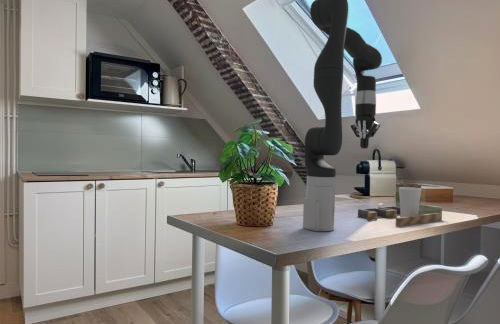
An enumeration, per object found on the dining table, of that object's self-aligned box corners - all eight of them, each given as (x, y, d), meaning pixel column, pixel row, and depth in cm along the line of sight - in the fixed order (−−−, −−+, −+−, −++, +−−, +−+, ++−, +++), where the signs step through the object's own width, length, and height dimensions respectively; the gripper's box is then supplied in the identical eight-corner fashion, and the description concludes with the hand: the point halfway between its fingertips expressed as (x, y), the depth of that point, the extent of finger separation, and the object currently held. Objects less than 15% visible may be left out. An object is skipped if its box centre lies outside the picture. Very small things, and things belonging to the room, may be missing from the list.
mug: (392, 208, 168) (393, 182, 168) (416, 209, 167) (417, 183, 166) (400, 213, 153) (401, 185, 152) (428, 215, 151) (429, 186, 151)
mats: (374, 218, 139) (374, 218, 139) (362, 216, 144) (362, 216, 144) (404, 215, 149) (404, 214, 149) (392, 213, 154) (392, 212, 154)
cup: (423, 221, 137) (425, 189, 137) (402, 220, 137) (403, 189, 137) (414, 217, 145) (415, 187, 145) (394, 216, 145) (395, 186, 145)
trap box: (398, 226, 126) (399, 212, 126) (353, 216, 143) (353, 204, 143) (441, 220, 140) (442, 207, 140) (395, 212, 157) (395, 200, 157)
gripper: (345, 104, 144) (344, 148, 144) (373, 101, 133) (371, 148, 133) (358, 106, 148) (357, 148, 148) (386, 102, 137) (384, 148, 137)
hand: (364, 148), depth 141 cm, fingers closed
